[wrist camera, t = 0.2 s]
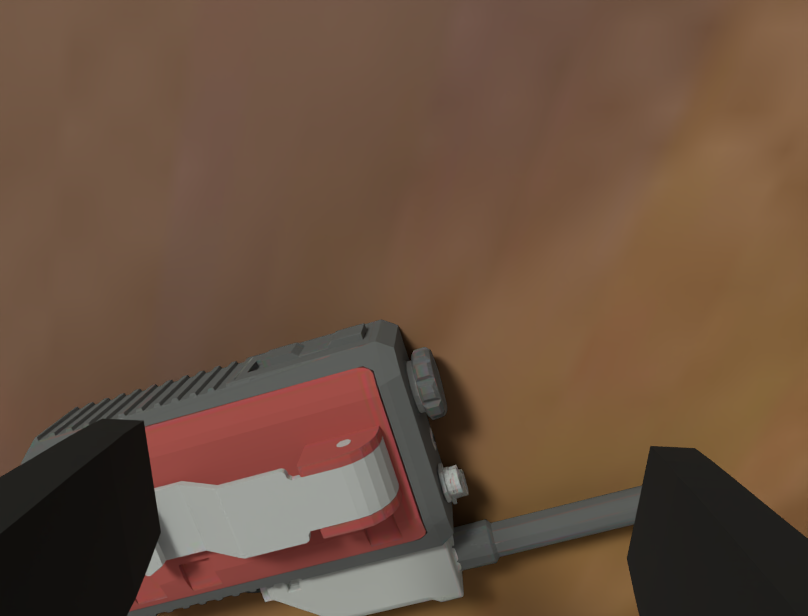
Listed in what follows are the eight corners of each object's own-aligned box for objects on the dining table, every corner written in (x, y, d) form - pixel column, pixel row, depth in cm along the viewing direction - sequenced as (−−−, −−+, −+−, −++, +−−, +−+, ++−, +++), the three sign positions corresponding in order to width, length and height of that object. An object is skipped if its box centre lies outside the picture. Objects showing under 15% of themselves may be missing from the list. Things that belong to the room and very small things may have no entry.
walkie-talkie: (132, 633, 24) (699, 495, 21) (66, 743, 19) (766, 584, 17) (29, 411, 22) (641, 234, 20) (-71, 478, 17) (700, 261, 15)
